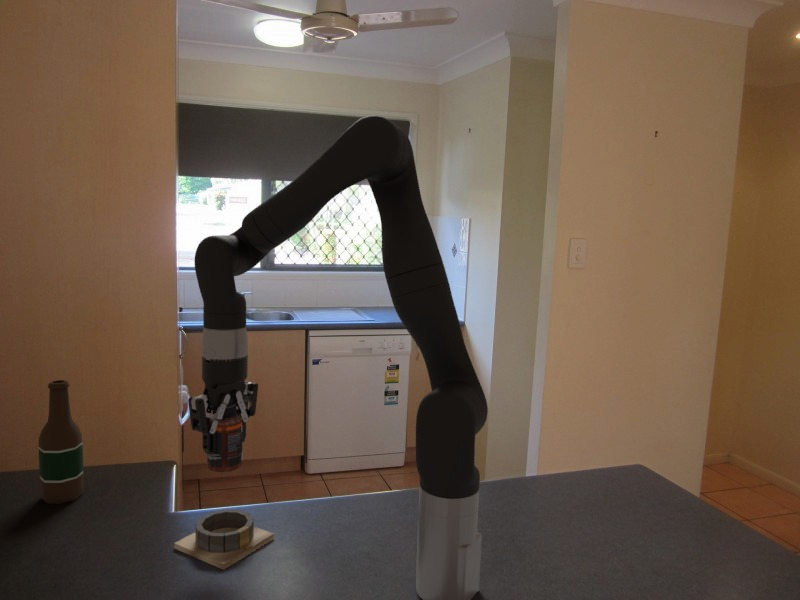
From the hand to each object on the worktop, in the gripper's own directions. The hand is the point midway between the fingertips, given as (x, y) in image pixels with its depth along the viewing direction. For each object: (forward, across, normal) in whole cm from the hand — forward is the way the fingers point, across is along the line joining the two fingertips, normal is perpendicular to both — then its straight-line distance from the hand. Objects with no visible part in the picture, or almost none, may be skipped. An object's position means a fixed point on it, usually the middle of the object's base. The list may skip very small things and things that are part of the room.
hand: (224, 447), depth 106 cm
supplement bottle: (+4, 0, 0) cm, 4 cm away
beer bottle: (+18, +5, -41) cm, 45 cm away
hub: (+18, 0, 0) cm, 18 cm away
